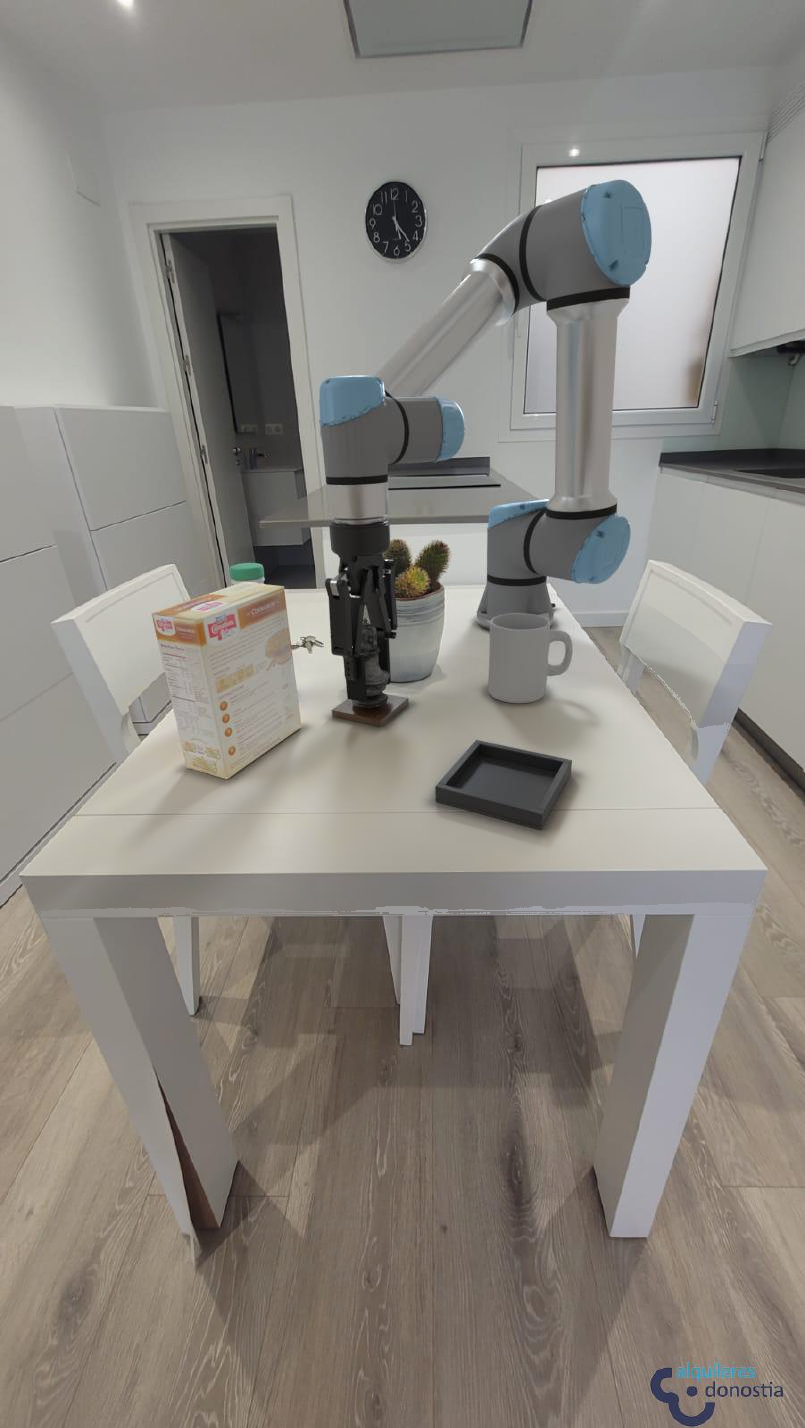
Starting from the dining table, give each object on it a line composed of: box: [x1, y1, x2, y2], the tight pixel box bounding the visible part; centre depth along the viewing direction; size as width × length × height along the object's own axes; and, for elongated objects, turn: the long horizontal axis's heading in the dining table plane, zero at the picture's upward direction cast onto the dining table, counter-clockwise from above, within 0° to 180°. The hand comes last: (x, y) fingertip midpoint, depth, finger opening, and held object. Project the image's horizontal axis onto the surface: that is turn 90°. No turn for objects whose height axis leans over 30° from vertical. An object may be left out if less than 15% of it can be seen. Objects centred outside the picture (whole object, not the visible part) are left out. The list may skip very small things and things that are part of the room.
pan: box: [434, 739, 573, 831], centre depth 65 cm, size 12×12×2 cm
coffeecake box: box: [150, 582, 303, 780], centre depth 72 cm, size 15×7×20 cm, turn 152°
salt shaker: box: [352, 617, 390, 708], centre depth 82 cm, size 6×6×12 cm
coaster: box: [331, 693, 410, 728], centre depth 85 cm, size 8×8×1 cm
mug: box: [487, 613, 573, 704], centre depth 87 cm, size 12×8×11 cm
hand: (369, 690), depth 84 cm, fingers closed on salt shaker, 6 cm apart
